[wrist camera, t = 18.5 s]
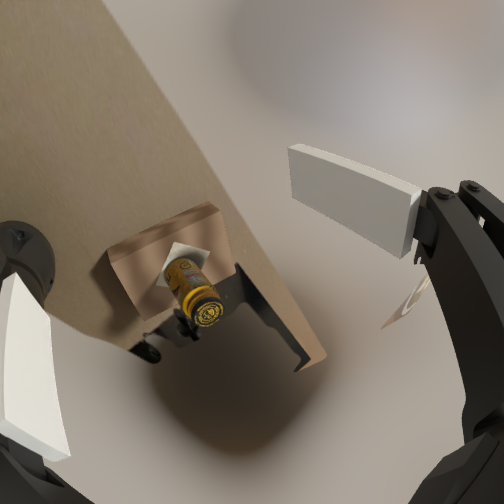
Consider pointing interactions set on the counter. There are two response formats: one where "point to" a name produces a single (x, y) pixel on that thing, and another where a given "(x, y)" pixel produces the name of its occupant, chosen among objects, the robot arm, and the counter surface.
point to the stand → (158, 248)
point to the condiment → (191, 284)
